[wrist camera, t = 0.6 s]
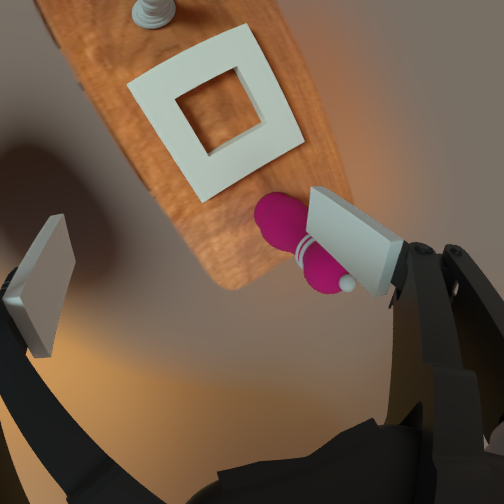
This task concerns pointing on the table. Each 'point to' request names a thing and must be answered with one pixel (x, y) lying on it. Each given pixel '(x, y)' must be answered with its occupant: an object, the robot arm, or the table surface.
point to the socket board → (240, 147)
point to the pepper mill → (300, 242)
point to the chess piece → (153, 13)
